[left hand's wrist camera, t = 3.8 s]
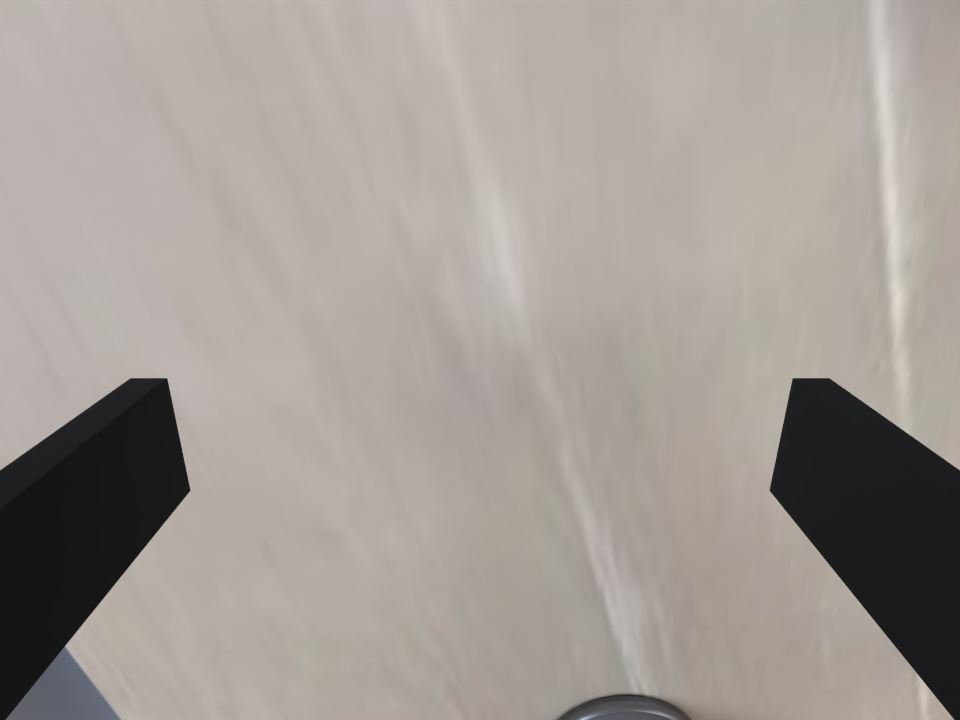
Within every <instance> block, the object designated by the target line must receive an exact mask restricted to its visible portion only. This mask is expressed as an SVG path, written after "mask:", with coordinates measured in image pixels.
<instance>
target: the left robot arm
mask: <svg viewBox="0 0 960 720" xmlns="http://www.w3.org/2000/svg"><path fill="white" fill-rule="evenodd" d="M189 492H190V486H189V482H188V477H187V472H186V467H185V462H184V457H183V453H182V448H181V443H180V438H179V433H178V428H177V424H176V419H175V414H174V409H173V404H172V399H171V395H170V390H169V385H168V380H167V378H130V379H129V380H128V381H126V382H125V383H123V384H122V385H121V386H119V387H118V388H116V389H115V390H114V391H112V392H111V393H109V394H108V395H106V396H105V397H104V398H102V399H101V400H99V401H98V402H97V403H95V404H94V405H92V406H91V407H89V408H88V409H87V410H85V411H84V412H82V413H81V414H80V415H78V416H77V417H75V418H74V419H72V420H71V421H70V422H68V423H67V424H65V425H64V426H63V427H61V428H60V429H58V430H57V431H55V432H54V433H53V434H51V435H50V436H48V437H47V438H46V439H44V440H43V441H41V442H40V443H39V444H37V445H36V446H34V447H33V448H31V449H30V450H29V451H27V452H26V453H24V454H23V455H22V456H20V457H19V458H17V459H16V460H14V461H13V462H12V463H10V464H9V465H7V466H6V467H5V468H3V469H2V470H0V720H5V719H6V718H7V717H8V716H9V715H10V713H11V712H12V711H13V710H14V708H15V707H16V706H17V705H18V703H19V702H20V701H21V700H22V699H23V697H24V696H25V695H26V694H27V692H28V691H29V690H30V689H31V687H32V686H33V685H34V684H35V682H36V681H37V680H38V679H39V678H40V676H41V675H42V674H43V673H44V671H45V670H46V669H47V668H48V666H49V665H50V664H51V663H52V661H53V660H54V659H55V658H56V656H57V655H58V654H59V653H60V651H61V650H62V649H63V648H64V647H65V645H66V644H67V643H68V642H69V640H70V639H71V638H72V637H73V635H74V634H75V633H76V632H77V630H78V629H79V628H80V627H81V625H82V624H83V623H84V622H85V620H86V619H87V618H88V617H89V616H90V614H91V613H92V612H93V611H94V609H95V608H96V607H97V606H98V604H99V603H100V602H101V601H102V599H103V598H104V597H105V596H106V594H107V593H108V592H109V591H110V590H111V588H112V587H113V586H114V585H115V583H116V582H117V581H118V580H119V578H120V577H121V576H122V575H123V573H124V572H125V571H126V570H127V568H128V567H129V566H130V565H131V563H132V562H133V561H134V560H135V559H136V557H137V556H138V555H139V554H140V552H141V551H142V550H143V549H144V547H145V546H146V545H147V544H148V542H149V541H150V540H151V539H152V537H153V536H154V535H155V534H156V532H157V531H158V530H159V529H160V528H161V526H162V525H163V524H164V523H165V521H166V520H167V519H168V518H169V516H170V515H171V514H172V513H173V511H174V510H175V509H176V508H177V506H178V505H179V504H180V503H181V502H182V500H183V499H184V498H185V497H186V495H187V494H188V493H189ZM770 492H771V493H772V494H773V495H774V497H775V498H776V499H777V500H778V502H779V503H780V504H781V505H782V506H783V508H784V509H785V510H786V511H787V513H788V514H789V515H790V516H791V518H792V519H793V520H794V521H795V523H796V524H797V525H798V526H799V528H800V529H801V530H802V531H803V533H804V534H805V535H806V536H807V537H808V539H809V540H810V541H811V542H812V544H813V545H814V546H815V547H816V549H817V550H818V551H819V552H820V554H821V555H822V556H823V557H824V559H825V560H826V561H827V562H828V563H829V565H830V566H831V567H832V568H833V570H834V571H835V572H836V573H837V575H838V576H839V577H840V578H841V580H842V581H843V582H844V583H845V585H846V586H847V587H848V588H849V590H850V591H851V592H852V593H853V594H854V596H855V597H856V598H857V599H858V601H859V602H860V603H861V604H862V606H863V607H864V608H865V609H866V611H867V612H868V613H869V614H870V616H871V617H872V618H873V619H874V620H875V622H876V623H877V624H878V625H879V627H880V628H881V629H882V630H883V632H884V633H885V634H886V635H887V637H888V638H889V639H890V640H891V642H892V643H893V644H894V645H895V647H896V648H897V649H898V650H899V651H900V653H901V654H902V655H903V656H904V658H905V659H906V660H907V661H908V663H909V664H910V665H911V666H912V668H913V669H914V670H915V671H916V673H917V674H918V675H919V676H920V678H921V679H922V680H923V681H924V682H925V684H926V685H927V686H928V687H929V689H930V690H931V691H932V692H933V694H934V695H935V696H936V697H937V699H938V700H939V701H940V702H941V704H942V705H943V706H944V707H945V708H946V710H947V711H948V712H949V713H950V715H951V716H952V717H953V718H954V720H960V470H958V469H957V468H955V467H954V466H953V465H951V464H950V463H948V462H947V461H946V460H944V459H943V458H941V457H940V456H938V455H937V454H936V453H934V452H933V451H931V450H930V449H929V448H927V447H926V446H924V445H923V444H921V443H920V442H919V441H917V440H916V439H914V438H913V437H912V436H910V435H909V434H907V433H906V432H905V431H903V430H902V429H900V428H899V427H897V426H896V425H895V424H893V423H892V422H890V421H889V420H888V419H886V418H885V417H883V416H882V415H880V414H879V413H878V412H876V411H875V410H873V409H872V408H871V407H869V406H868V405H866V404H865V403H863V402H862V401H861V400H859V399H858V398H856V397H855V396H854V395H852V394H851V393H849V392H848V391H846V390H845V389H844V388H842V387H841V386H839V385H838V384H837V383H835V382H834V381H832V380H831V379H829V378H793V380H792V385H791V390H790V395H789V399H788V404H787V409H786V414H785V419H784V424H783V428H782V433H781V438H780V443H779V448H778V453H777V457H776V462H775V467H774V472H773V477H772V482H771V486H770ZM559 720H690V719H689V718H688V717H687V716H686V715H685V714H684V713H682V712H681V711H680V710H678V709H677V708H675V707H673V706H671V705H669V704H667V703H665V702H662V701H659V700H655V699H652V698H646V697H639V696H615V697H608V698H602V699H598V700H594V701H591V702H588V703H586V704H583V705H581V706H579V707H577V708H575V709H573V710H571V711H570V712H568V713H566V714H565V715H564V716H562V717H561V718H560V719H559Z"/></svg>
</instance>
